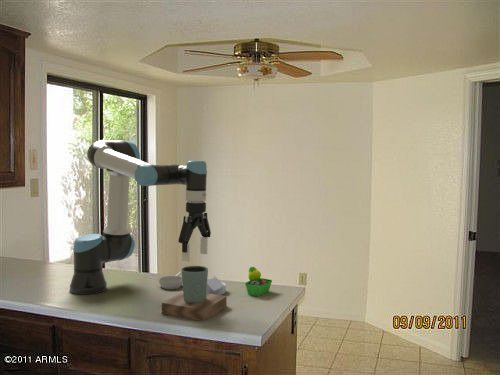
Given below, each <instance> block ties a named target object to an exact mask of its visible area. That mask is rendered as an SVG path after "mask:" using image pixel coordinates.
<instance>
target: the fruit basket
mask: <svg viewBox="0 0 500 375" xmlns="http://www.w3.org/2000/svg"><path fill="white" fill-rule="evenodd" d="M247 276H248V279H249V281H246V282H244V285H245V288H246V291H247V294H248V295H249V296H253V297H257V296H258V297H260V296H262V295H265V294H266V293H269V292H270V288H271V285H272V282H273V280H272V279H268V278H263V277H261V276H262V274H261V272H260V270H258V269H257V268H256V267H255V266H249V268H248V274H247Z"/></svg>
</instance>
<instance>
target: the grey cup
mask: <svg viewBox="0 0 500 375" xmlns="http://www.w3.org/2000/svg"><path fill="white" fill-rule="evenodd" d="M180 271H181V272H182V273H181V277H182V281H183V284H182V292H183V297H184V301H185V302H188V303H201V302H204V301H205V300H206V290H207V280H208V278H209V277H208V273H209V268H208V267H207V266H203V265H202V266H201V265H188V266H184V267H181V270H180Z"/></svg>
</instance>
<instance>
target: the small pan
mask: <svg viewBox="0 0 500 375" xmlns="http://www.w3.org/2000/svg"><path fill="white" fill-rule="evenodd" d="M180 274H181V275H182V271H181V270H180V271H179V272H177V273H176V274H175V275H166V276H161V277H160V278H158V282H159V283H158V284H159V285H160V288H163V289H165V290H175V289H180V288H181V287H182V286H183V281H182V276H180Z"/></svg>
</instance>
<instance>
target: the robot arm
mask: <svg viewBox="0 0 500 375" xmlns="http://www.w3.org/2000/svg"><path fill="white" fill-rule="evenodd" d="M87 149H88V150H87V153H86V156H87V159H88V162H89V163H90V164H91V165H92V166H94V167H96V168H98V169H102V170H104V169H105V170H106V172H107V173H108V174H109V182H108V199H107V200H108V203H107V219H106V220H107V223H106V228H104V229H103V230H102V234H100V233H92V234H91V233H89V234H84V235H80V236H78V237H76V238H75V240H74V242H73V250H72V251H73V275H72V278H71V283H70V284H69V292H70V293H71V294H75V295H93V294H94V295H95V294H99V293H102V292H104V291H106V290H107V289H108V285H107V281H106V278H105V275H104V272H103V264H106V263H111V262H116V261H123V260H126V259H128V258H130V257H131V256H132V254H133V253H134V250H135V247H136V244H135V243H136V242H135V240H134V236H133V235H132V234H131V230H129V229H128V211H129V195H130V194H129V193H130V178H131V179H133V180H134V181H135V182H136V183H137V185H139V186H142V187H145V186H146V187H150V186H151V187H154V186H168V185H169V186H170V185H183V186H186V187H185V202H186V203H185V212H186V213H188V216H187V215H184V216H183V220H182V221H183V222H182V225H181V230H180V233H179V237H178V242H177V243H179V244H181V261H183V262H190V249H191V248H190V247H191V244H190V242H189V241H190V240H191V237H192V235H193V232H194V230H195V229H196V227H197V228H198V231H199V232H200V235H201V237H200V244H199V245H200V251H199V254H201V255H208V242H209V240H208V239H209V238H210V237H211V235H212V232H211V228H210V223H209V220H208V212H206V211H207V203H206V202H205V201H207V195H208V194H207V176H208V174H207V173H208V171H207V170H208V169H207V168H208V167H207V162H206V161H204V160H187V161H186V165H184V164H176V163H175V164H152V163H149V162H146V161H143V160H141V154H140V150H139V148H138V147H137V145H136V144H135V143H134V142H132V141H130V140H118V139H117V140H109V139H107V140H106V139H100V140H96V141H95V142H93V143H92V144H90V146H89V147H88V148H87Z"/></svg>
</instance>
